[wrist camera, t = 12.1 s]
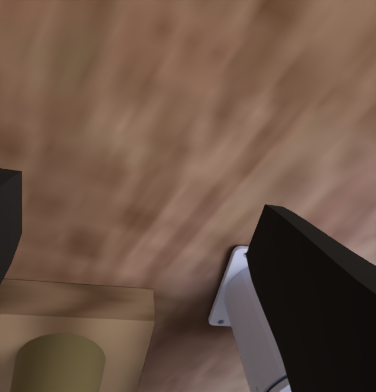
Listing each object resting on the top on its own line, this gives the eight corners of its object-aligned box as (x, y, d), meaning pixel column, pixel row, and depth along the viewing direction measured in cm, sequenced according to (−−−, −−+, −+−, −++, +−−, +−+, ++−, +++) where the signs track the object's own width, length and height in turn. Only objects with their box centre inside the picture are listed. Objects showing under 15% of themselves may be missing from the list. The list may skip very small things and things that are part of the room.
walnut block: (153, 289, 26) (155, 321, 23) (131, 378, 31) (131, 412, 28) (-6, 278, 23) (-24, 312, 21) (-1, 377, 28) (-15, 414, 26)
